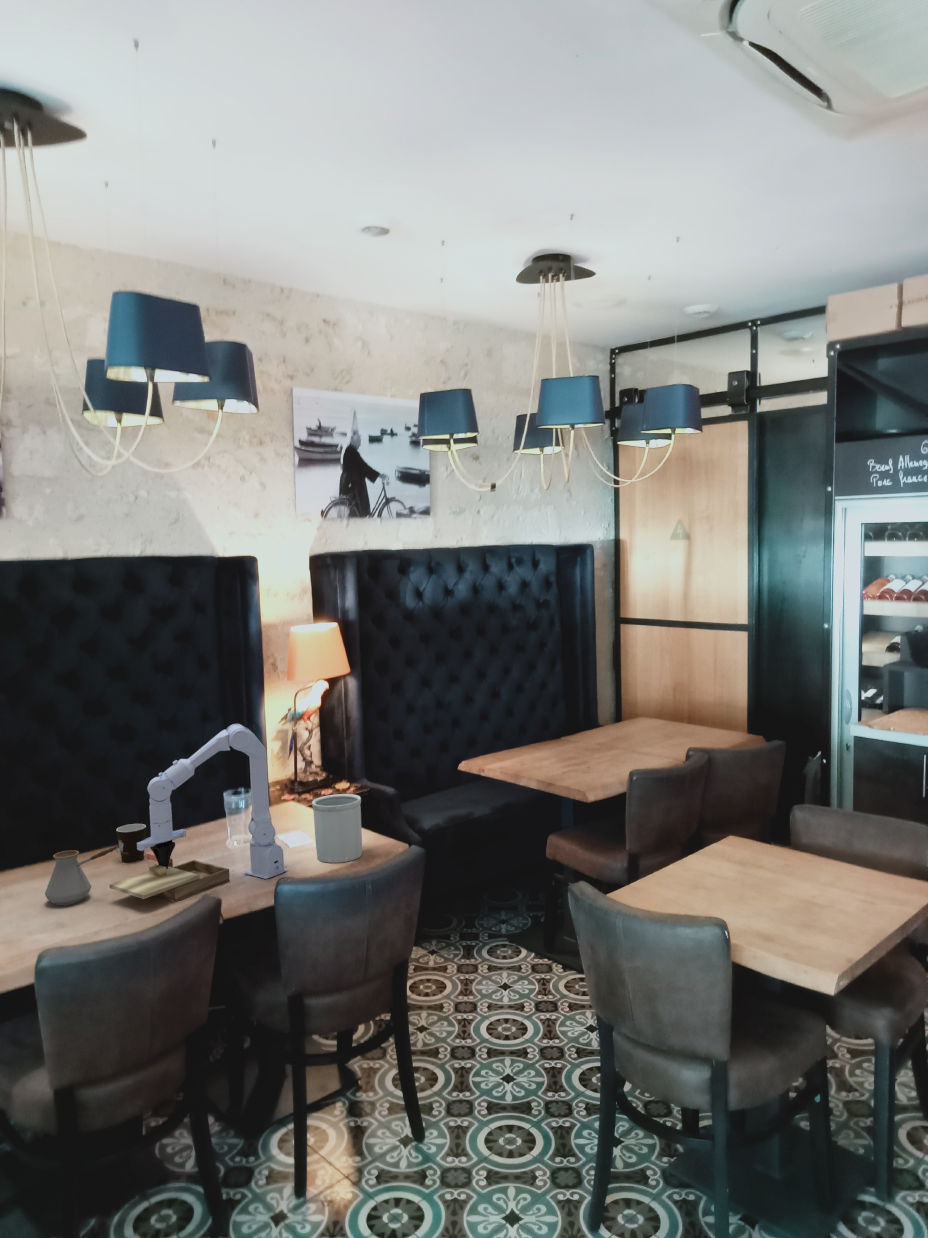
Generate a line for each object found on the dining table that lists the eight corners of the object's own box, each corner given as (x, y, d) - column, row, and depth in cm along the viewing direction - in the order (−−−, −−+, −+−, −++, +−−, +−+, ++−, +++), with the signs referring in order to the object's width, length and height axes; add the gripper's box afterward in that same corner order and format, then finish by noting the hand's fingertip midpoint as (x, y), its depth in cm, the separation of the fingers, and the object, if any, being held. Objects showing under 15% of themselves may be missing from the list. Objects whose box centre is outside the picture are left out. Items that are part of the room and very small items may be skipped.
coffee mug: (148, 861, 267) (146, 829, 266) (118, 866, 264) (116, 833, 263) (147, 850, 278) (145, 820, 277) (118, 855, 275) (116, 823, 274)
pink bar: (171, 862, 249) (171, 856, 249) (164, 864, 247) (163, 858, 247) (152, 856, 254) (152, 851, 254) (145, 859, 252) (145, 853, 252)
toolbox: (229, 881, 247) (228, 860, 246) (175, 901, 232) (174, 880, 232) (191, 870, 257) (190, 851, 257) (136, 889, 242) (135, 869, 242)
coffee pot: (36, 908, 231) (33, 853, 230) (60, 892, 243) (57, 839, 242) (112, 908, 229) (109, 852, 228) (133, 892, 240) (130, 839, 240)
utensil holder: (305, 856, 266) (302, 800, 265) (346, 845, 276) (343, 790, 275) (331, 867, 255) (329, 808, 254) (373, 855, 265) (370, 798, 264)
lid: (199, 878, 239) (198, 867, 238) (143, 899, 225) (142, 887, 224) (165, 869, 248) (164, 858, 247) (109, 888, 234) (109, 876, 233)
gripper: (174, 812, 249) (177, 859, 250) (129, 825, 238) (132, 874, 238) (189, 815, 245) (192, 863, 246) (144, 829, 233) (147, 878, 234)
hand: (163, 869), depth 242 cm, fingers closed
